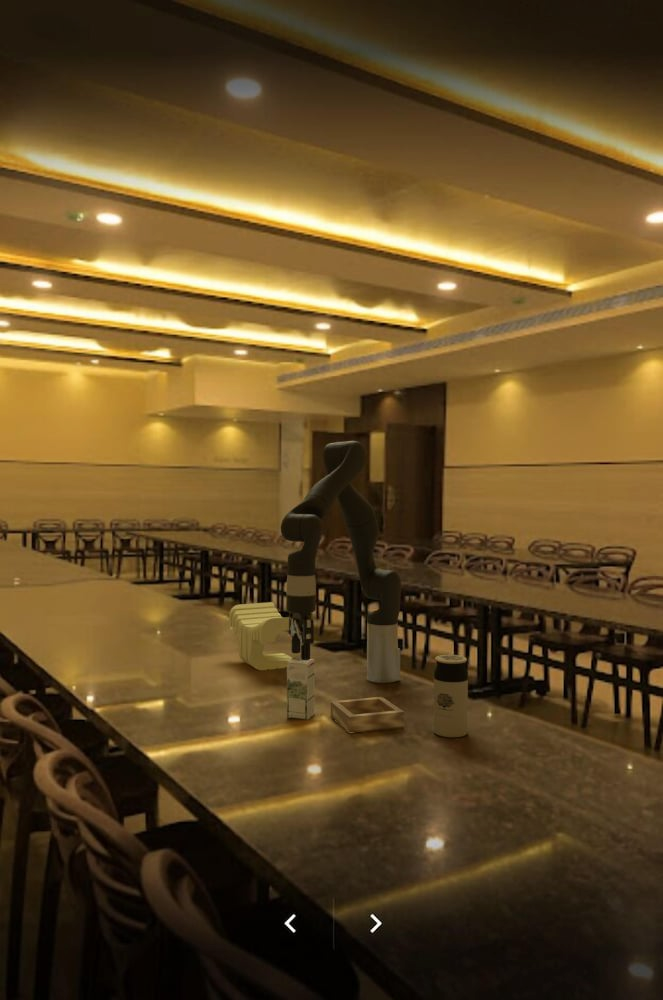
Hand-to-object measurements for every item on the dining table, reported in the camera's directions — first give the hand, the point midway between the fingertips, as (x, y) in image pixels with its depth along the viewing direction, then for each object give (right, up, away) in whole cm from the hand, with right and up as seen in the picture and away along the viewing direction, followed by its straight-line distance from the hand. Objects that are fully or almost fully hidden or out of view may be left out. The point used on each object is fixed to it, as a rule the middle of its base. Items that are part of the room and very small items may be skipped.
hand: (300, 656), depth 202 cm
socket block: (+17, -16, -5) cm, 23 cm away
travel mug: (+36, -16, -13) cm, 42 cm away
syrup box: (0, -16, 0) cm, 16 cm away
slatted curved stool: (-13, -14, +57) cm, 60 cm away
